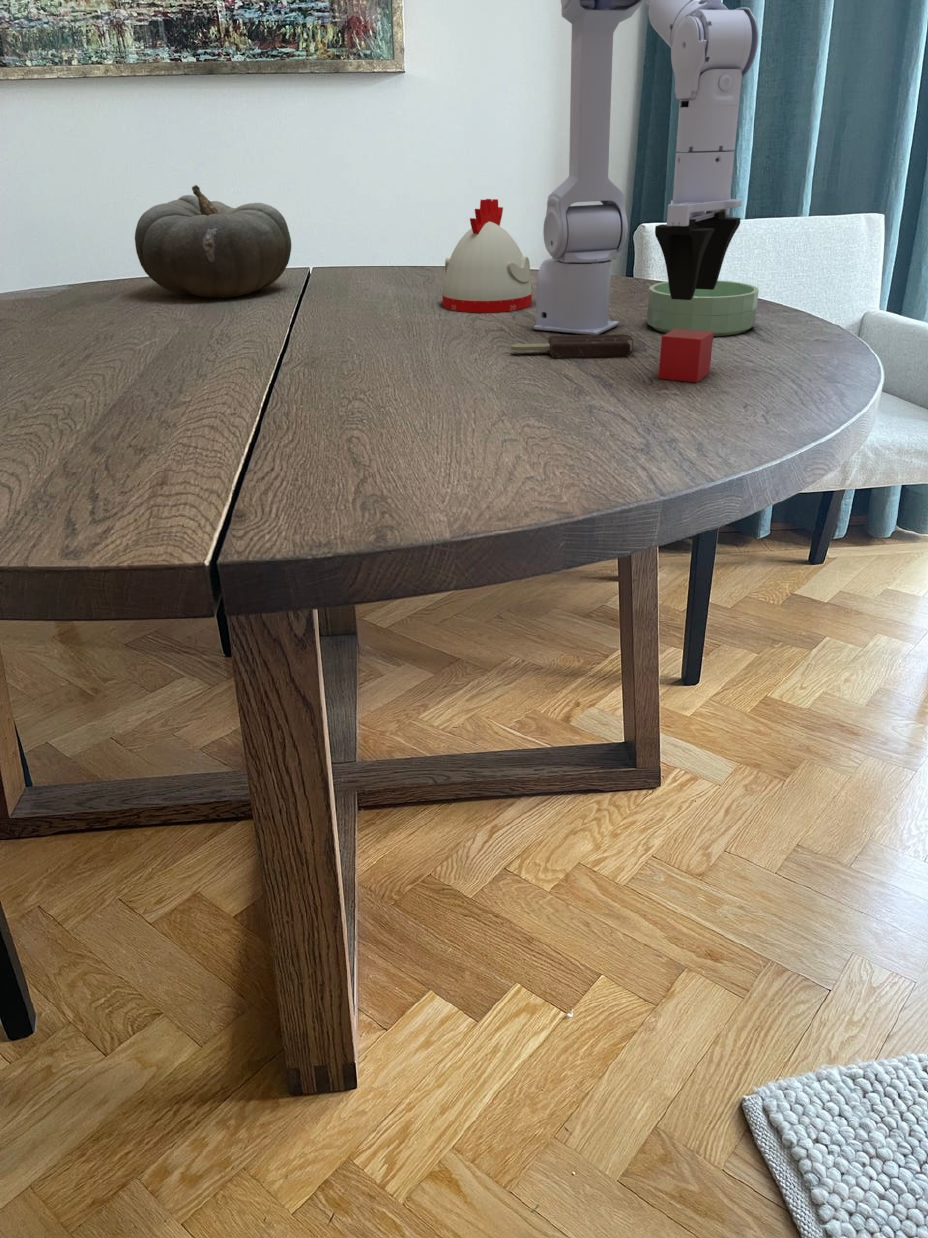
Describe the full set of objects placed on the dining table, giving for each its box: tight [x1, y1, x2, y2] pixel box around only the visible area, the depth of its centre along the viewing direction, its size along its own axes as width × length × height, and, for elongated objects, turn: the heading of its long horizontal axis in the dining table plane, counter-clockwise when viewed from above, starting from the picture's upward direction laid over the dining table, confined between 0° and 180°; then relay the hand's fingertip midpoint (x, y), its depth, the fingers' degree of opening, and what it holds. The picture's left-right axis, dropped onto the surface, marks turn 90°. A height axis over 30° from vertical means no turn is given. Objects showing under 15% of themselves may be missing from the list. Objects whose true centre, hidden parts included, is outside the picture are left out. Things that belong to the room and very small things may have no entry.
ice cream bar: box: [510, 333, 634, 359], centre depth 114 cm, size 5×2×15 cm
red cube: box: [658, 329, 714, 384], centre depth 102 cm, size 4×4×5 cm
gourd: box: [134, 184, 292, 299], centre depth 157 cm, size 25×25×17 cm
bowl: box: [646, 279, 760, 337], centre depth 126 cm, size 14×14×5 cm
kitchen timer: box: [441, 198, 533, 314], centre depth 141 cm, size 14×14×15 cm
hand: (693, 293), depth 99 cm, fingers open, 7 cm apart
